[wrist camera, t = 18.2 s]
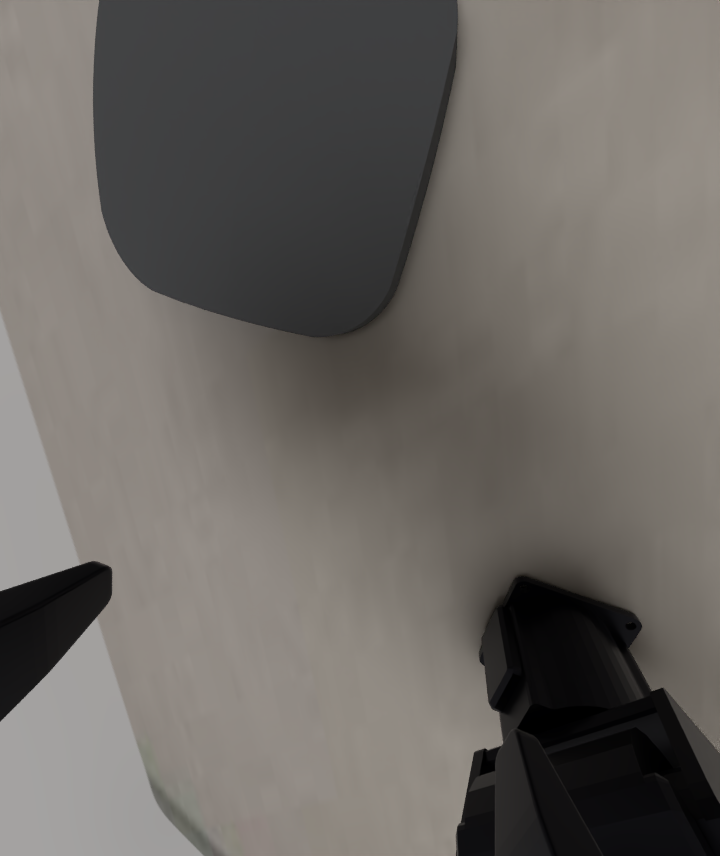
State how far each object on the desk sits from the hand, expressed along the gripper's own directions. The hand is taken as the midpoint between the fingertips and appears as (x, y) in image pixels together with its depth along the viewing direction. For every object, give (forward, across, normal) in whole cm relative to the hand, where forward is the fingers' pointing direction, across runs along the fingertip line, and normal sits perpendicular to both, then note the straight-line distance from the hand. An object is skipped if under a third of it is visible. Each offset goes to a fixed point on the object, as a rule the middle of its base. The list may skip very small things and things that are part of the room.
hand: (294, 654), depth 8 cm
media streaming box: (+14, +9, -12) cm, 20 cm away
